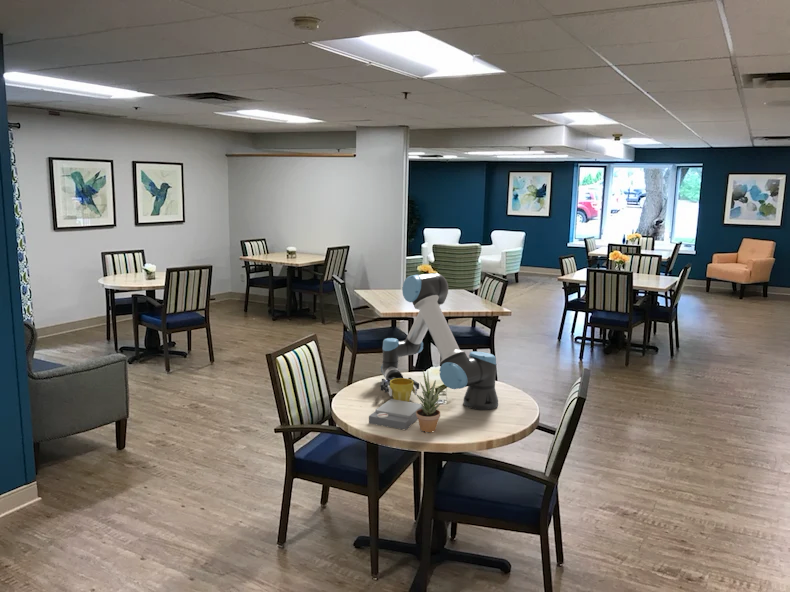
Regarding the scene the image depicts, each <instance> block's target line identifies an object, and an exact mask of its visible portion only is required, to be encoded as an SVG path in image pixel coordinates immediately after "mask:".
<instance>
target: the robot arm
mask: <svg viewBox="0 0 790 592" xmlns="http://www.w3.org/2000/svg"><path fill="white" fill-rule="evenodd" d="M401 291H402V296H403V298H404V299H405V301H406V302H408V303H412V305H413V307H414V309H416V310H418V313H417V315H416V317H415V320H414V321H413V324H412V326H411V327H410V330H409V332H408V334H407V336H406V338H405V339H404V340H399V339H397V338H394V337H387V338H384V339H383V341H382V364H381V367H380V370H381V371H380V372H381V374H382V376H383V377H384V378H381V382H380V387H379V388H380V389H379V390H380V391H384V393H385V394H386V393H388V395H389V397H393V395H392V389H391V388H390V381H391V380H392V379H396V378H404V375H403V374H402V372H401V371H400V369H399V358H402V357H406V356H412V355H417V354H420V353H421V352H422V351H423V349H424V342H423V339H424V338H425V337H426V334H427V332H428V331H429V334H430V336H431V338H432V341H433V342H434V344H435V347H436V349H437V351H438V353H439V355H440V358H441V359H440V362H439V364H440V367H439V377H440V380H441V382H442V384H444V386H445V387H447V388H448V389H451V390H457V389H458V390H459V389H463V388H466V387H467V389H466V391H465V394H464V396H463V405H464V406H465V407H467V408H469V409H472V410H479V411H488V410H489V411H490V410H493V409H496V408H497V406H499V399H498V393H497V391H496V376H497V375H496V374H497V358H496V356H495V355H494V354H492V353H488V352H483V351H470V352H469V355H468V356H469V357H468V356H467V354H466V352H465V351H464V350H461V349H460V347H459V345H458V343H457V341H456V338H455V336H454V334H453V331H452V330H451V328H450V326H449V323H448V321H447V320H446V317H445V315H444V312H443V311H442V309H441V305H443V304H444V303H445V301H446V300H447V297H448V294H449V284H448V281H447V279H446V278H445V276H443V275H442V274H440V273H437V272H430V273H420V274H418V273H417V274H416V273H415V274H413V275H409V276H407V277H406V278H405V280H404V281H403V284H402V290H401ZM407 379H411V380H413V382H414V385H413V390H412V391H411V392H412V393H413V394H414V396H417V395H418V393H417V392H418V390H419V389H420V382H417V381H416V380H414V379H412V377H408V378H407Z"/></svg>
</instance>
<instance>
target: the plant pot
mask: <svg viewBox="0 0 790 592" xmlns="http://www.w3.org/2000/svg"><path fill="white" fill-rule="evenodd" d="M411 379H412V378H411ZM411 379H408V378H405V377H403V378H396V379H392V380H391V381H390V388H391V389H392V399H395V400H401V401H407V402H410V400H411V399H410V398H411V395H412V392H413V391H412V390H413V385H414V382H413V380H414V379H412V380H411Z"/></svg>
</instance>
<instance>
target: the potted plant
mask: <svg viewBox="0 0 790 592" xmlns="http://www.w3.org/2000/svg"><path fill="white" fill-rule="evenodd" d="M422 373H423V381H424V385H425V387H424V385H423V384H422V383H421V382H420V381H419V386H420V387H421V389H422V391H421V393H422V396H423V397H422V396H421V395H418V394H417V395H416V396H417V398H418V399H419V401H420V403H419V404H421V405H422V406H423V407H424V408H422V409H419V410H417V411H416V416H417V418H418V420H417V421H418V424H419V430H420V431H421V430H422V431H425V432H424V433H426V432H431V433H433V432H432V431H434V432H436V429H437V426H438V423H439V419H440V417H441V411H440V410H439V409H438V408H439V407H440V406H441V404H442V403H439V401H438V400H439V399H440V397H439V392H440V390H441V389H440V387H439V388H438V390H437V391H436V392H435V389H436V388H435V387H436V382H437V380H436V379H434V381H433V384H432V387H431V385H430V379H429V378H430V377H429V370H427V376H426V375H425V370H422ZM426 377H427V378H426ZM434 392H435V393H434ZM438 403H439V404H438ZM422 431H421V432H422Z"/></svg>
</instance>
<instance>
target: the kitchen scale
mask: <svg viewBox="0 0 790 592" xmlns="http://www.w3.org/2000/svg"><path fill="white" fill-rule="evenodd" d="M421 404H422V403H421ZM421 404H420V403H418V402H411V401H409V402H407V401H401V400H395V399H393V398H389V400H387V401H386V402H384V403H383V404H381V405H380V406H379V407H377V408H376V409H375V411H373V412H372V413H371V414H369V415H368V424H370V425H371V424H372V425H376V424H377V426H381V425H383V426H382V427H387V426H388V427H387V428H392V427H394V428H393V429H397V428H400V429H399V430H402V429H405V430H404V431H406V430H408V428H409V426H410V425H411V424H412V425H414V423H416V421H418V420H417V419H418V418H417V416H416V411H417V410H419V409H422V408H424V407H423V406H424V405H423V406H422V405H421ZM412 425H411V426H412ZM411 426H410V427H411Z"/></svg>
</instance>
